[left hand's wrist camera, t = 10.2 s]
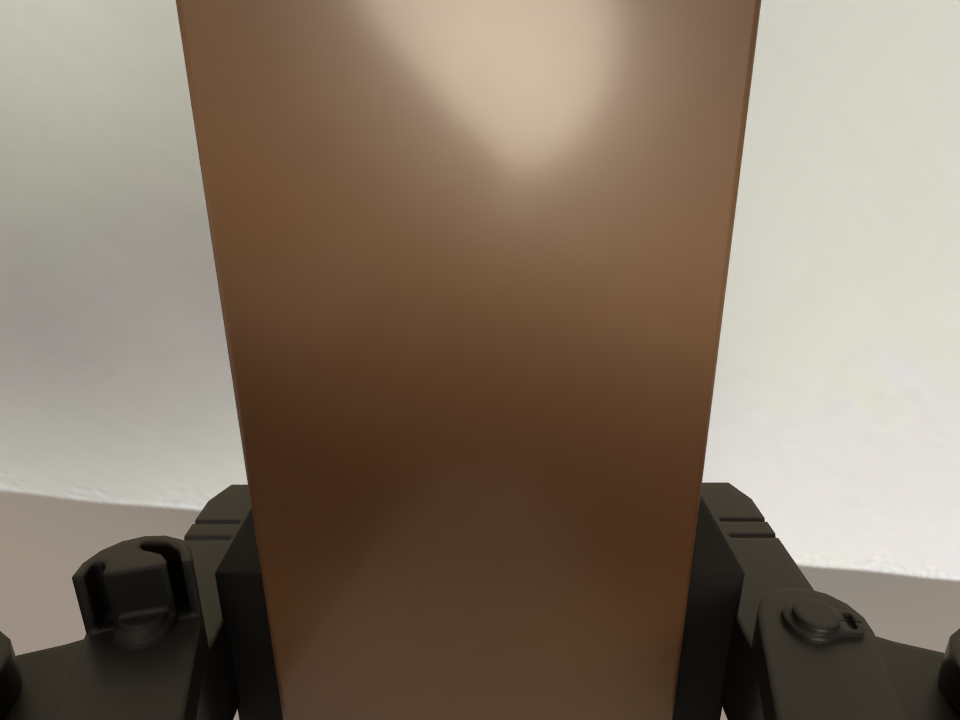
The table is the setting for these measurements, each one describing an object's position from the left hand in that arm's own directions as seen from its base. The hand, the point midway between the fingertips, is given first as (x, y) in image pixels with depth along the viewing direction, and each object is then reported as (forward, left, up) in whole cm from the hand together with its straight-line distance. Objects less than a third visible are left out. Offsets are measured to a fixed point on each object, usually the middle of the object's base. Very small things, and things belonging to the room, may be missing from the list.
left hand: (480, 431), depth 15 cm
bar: (-3, +28, -1) cm, 28 cm away
